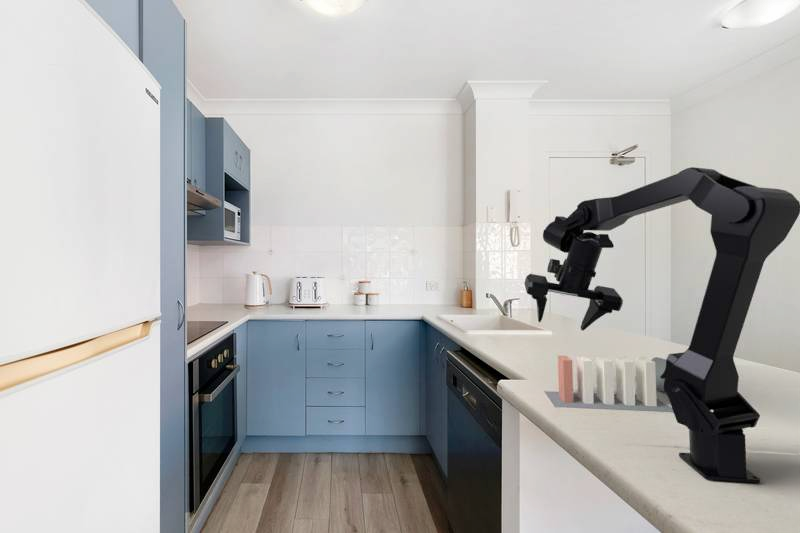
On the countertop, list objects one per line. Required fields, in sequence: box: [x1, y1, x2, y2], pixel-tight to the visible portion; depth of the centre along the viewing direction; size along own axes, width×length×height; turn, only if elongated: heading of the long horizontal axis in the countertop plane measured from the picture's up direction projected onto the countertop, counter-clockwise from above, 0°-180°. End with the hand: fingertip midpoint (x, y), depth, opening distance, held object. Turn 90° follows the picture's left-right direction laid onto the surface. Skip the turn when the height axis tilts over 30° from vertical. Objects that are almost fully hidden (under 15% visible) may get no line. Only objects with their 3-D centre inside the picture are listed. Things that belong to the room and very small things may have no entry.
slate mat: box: [543, 390, 674, 413], centre depth 77 cm, size 10×23×1 cm, turn 80°
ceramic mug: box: [650, 356, 667, 393], centre depth 83 cm, size 11×8×8 cm
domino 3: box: [595, 355, 615, 405], centre depth 77 cm, size 4×2×9 cm, turn 170°
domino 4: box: [615, 356, 636, 406], centre depth 76 cm, size 4×2×9 cm, turn 170°
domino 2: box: [576, 355, 594, 404], centre depth 78 cm, size 4×2×9 cm, turn 170°
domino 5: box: [634, 356, 657, 406], centre depth 76 cm, size 4×2×9 cm, turn 170°
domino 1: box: [557, 355, 574, 403], centre depth 78 cm, size 4×2×9 cm, turn 170°
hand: (560, 325), depth 80 cm, fingers open, 9 cm apart
